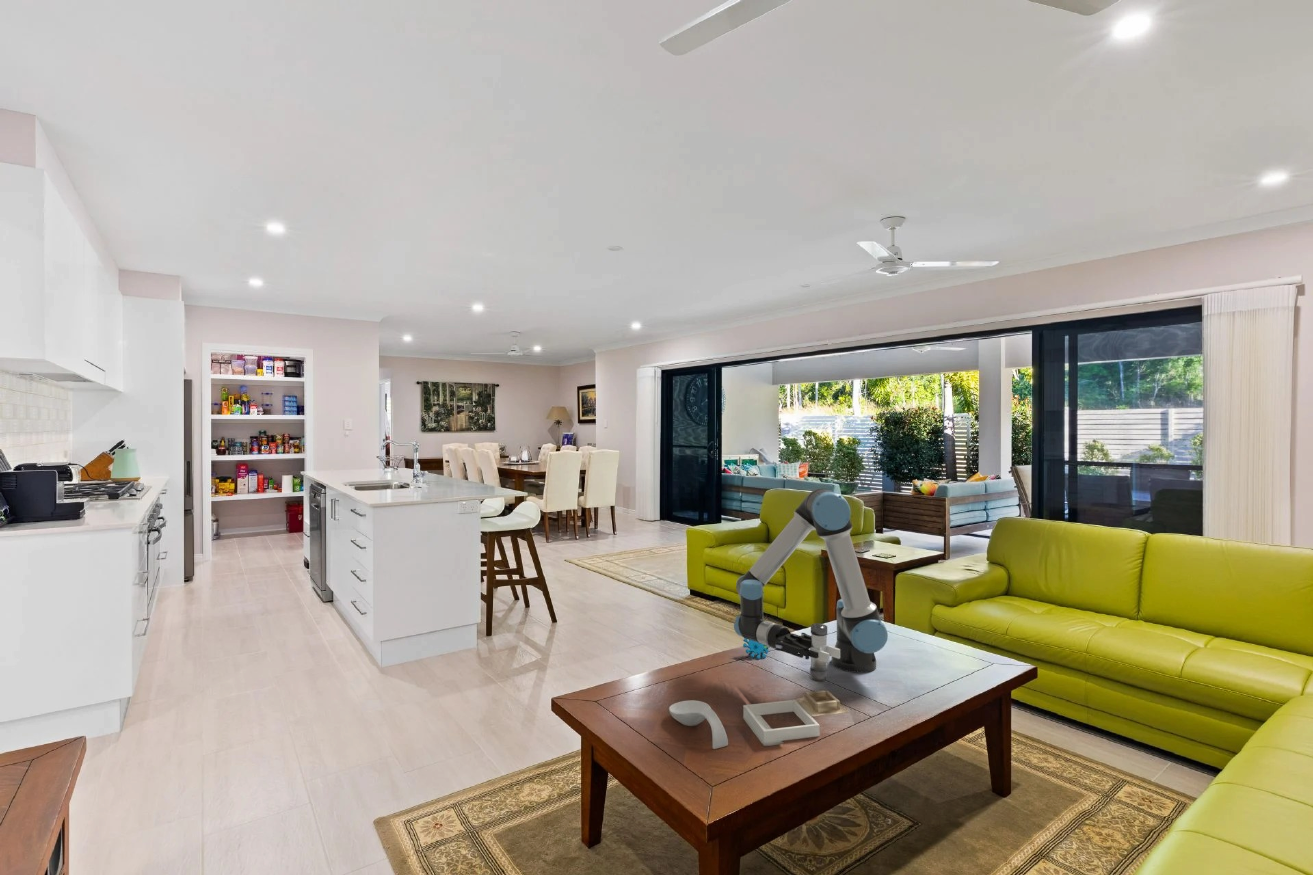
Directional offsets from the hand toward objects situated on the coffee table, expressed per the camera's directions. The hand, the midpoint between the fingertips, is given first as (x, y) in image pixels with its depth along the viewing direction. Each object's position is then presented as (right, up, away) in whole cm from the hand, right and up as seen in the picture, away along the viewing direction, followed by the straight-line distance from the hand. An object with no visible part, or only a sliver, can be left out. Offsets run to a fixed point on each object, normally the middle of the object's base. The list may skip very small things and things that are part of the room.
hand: (833, 655), depth 188 cm
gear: (-15, -16, +48) cm, 53 cm away
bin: (-17, -18, -8) cm, 26 cm away
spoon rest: (-40, -18, -7) cm, 44 cm away
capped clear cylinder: (-3, -8, +5) cm, 10 cm away
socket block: (-3, -17, +5) cm, 18 cm away
